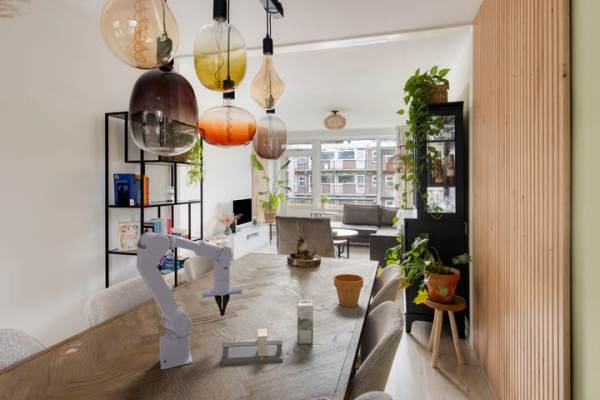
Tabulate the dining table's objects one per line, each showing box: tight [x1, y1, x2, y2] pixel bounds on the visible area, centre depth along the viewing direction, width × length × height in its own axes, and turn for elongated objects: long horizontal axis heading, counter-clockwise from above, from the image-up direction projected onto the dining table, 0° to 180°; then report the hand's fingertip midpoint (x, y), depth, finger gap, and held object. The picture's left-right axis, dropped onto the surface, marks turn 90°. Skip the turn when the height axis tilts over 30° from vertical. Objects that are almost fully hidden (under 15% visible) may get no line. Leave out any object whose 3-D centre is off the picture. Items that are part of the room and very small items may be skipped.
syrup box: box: [296, 300, 314, 345], centre depth 123 cm, size 6×6×14 cm
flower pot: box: [333, 273, 364, 308], centre depth 161 cm, size 14×14×13 cm
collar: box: [257, 327, 268, 356], centre depth 112 cm, size 3×6×7 cm, turn 6°
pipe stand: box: [220, 338, 284, 366], centre depth 112 cm, size 20×9×6 cm, turn 96°
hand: (222, 314), depth 121 cm, fingers closed
